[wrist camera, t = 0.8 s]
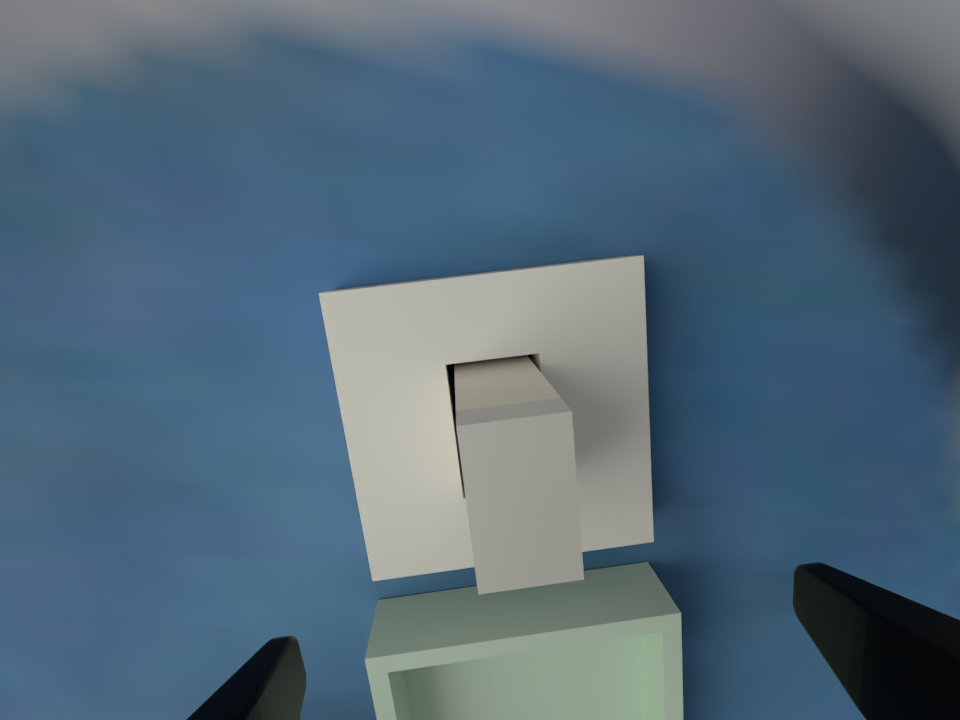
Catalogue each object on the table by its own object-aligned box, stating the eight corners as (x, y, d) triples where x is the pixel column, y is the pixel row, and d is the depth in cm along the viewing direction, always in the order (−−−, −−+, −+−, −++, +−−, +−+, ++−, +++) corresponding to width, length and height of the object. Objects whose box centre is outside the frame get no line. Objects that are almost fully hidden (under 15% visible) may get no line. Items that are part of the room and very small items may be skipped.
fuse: (533, 459, 21) (584, 579, 13) (467, 468, 21) (478, 594, 13) (524, 351, 20) (572, 411, 12) (453, 360, 20) (456, 425, 12)
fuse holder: (635, 516, 22) (653, 541, 20) (379, 551, 21) (372, 581, 19) (623, 255, 19) (643, 255, 17) (332, 290, 19) (318, 293, 17)
